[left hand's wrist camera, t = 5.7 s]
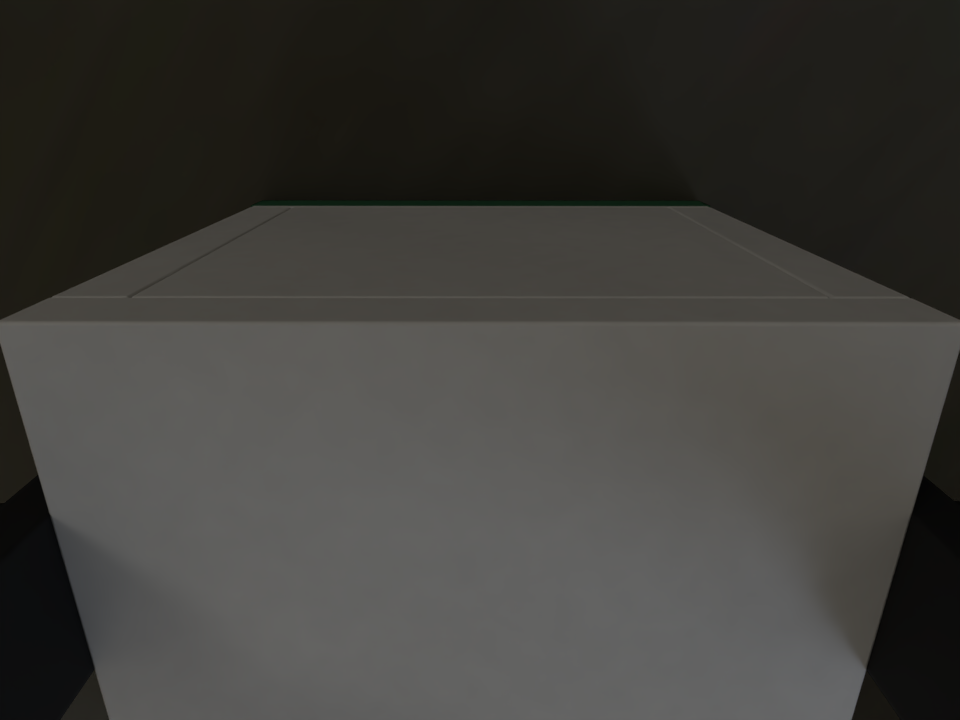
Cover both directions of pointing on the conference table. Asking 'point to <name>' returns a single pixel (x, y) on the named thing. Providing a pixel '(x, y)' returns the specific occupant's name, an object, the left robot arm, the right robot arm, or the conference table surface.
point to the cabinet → (480, 463)
